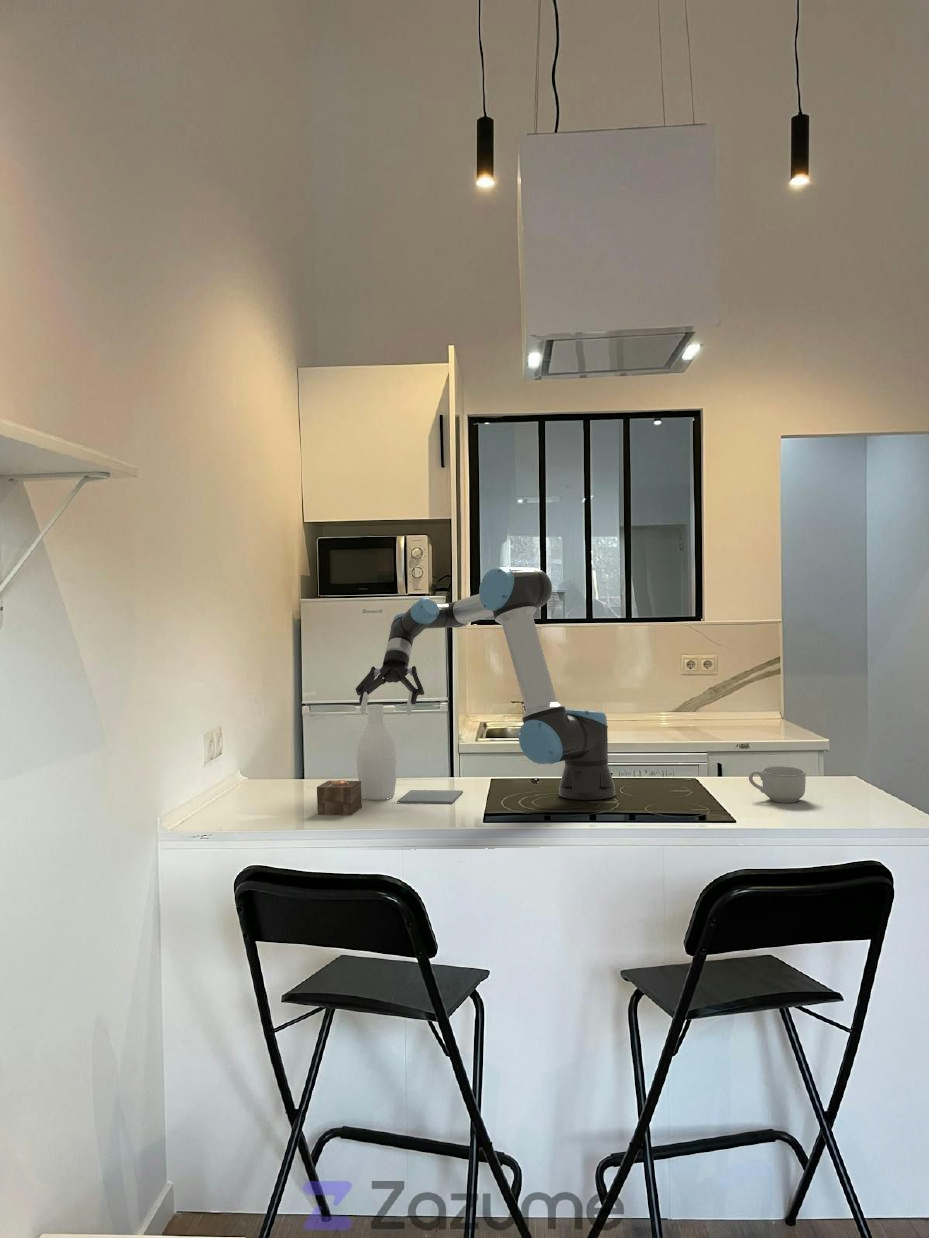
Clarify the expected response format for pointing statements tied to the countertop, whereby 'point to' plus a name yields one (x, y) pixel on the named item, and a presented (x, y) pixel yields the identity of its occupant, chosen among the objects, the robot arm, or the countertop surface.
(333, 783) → the release button
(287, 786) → the countertop surface
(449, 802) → the mat
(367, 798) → the bottle
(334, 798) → the button housing
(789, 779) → the teacup
